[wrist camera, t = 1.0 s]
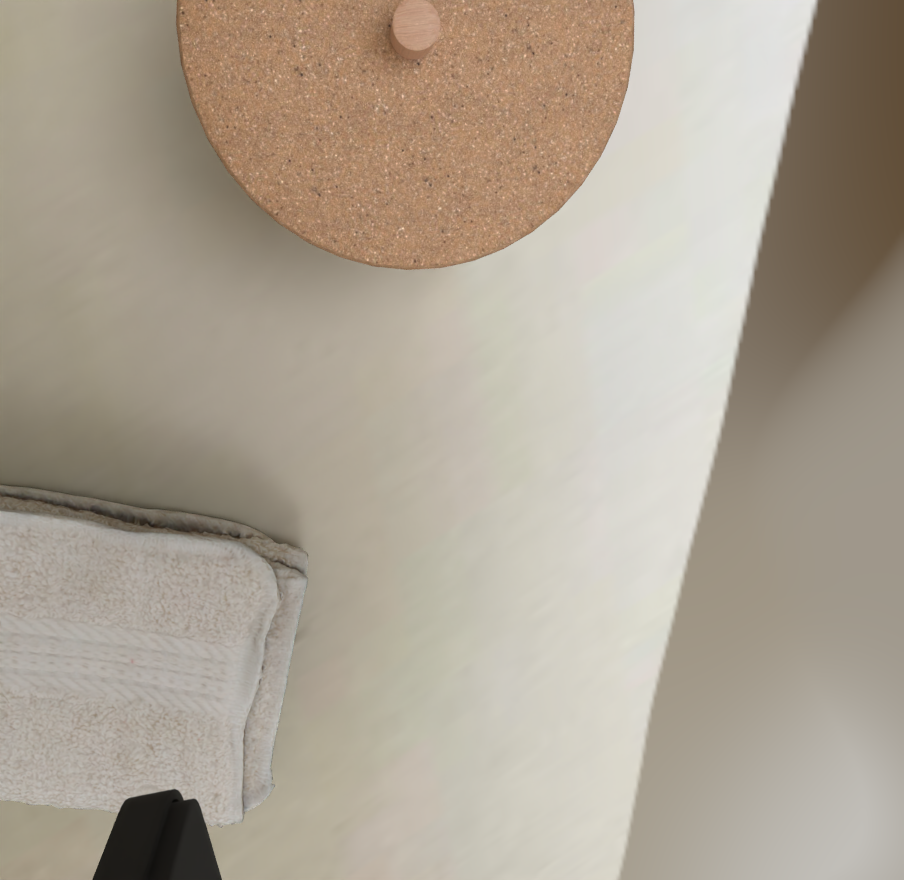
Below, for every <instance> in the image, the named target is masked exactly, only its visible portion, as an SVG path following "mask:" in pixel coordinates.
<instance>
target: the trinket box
mask: <svg viewBox="0 0 904 880" xmlns="http://www.w3.org/2000/svg"><path fill="white" fill-rule="evenodd" d="M176 26H177V34H178V42H179V50H180V58H181V65H182V69H183V73H184V76H185V80H186V83H187V87H188V91H189V94H190V98H191V101H192V104H193V107H194V109H195V111H196V114H197V116H198V118H199V120H200V123H201V125H202V127H203V129H204V132H205V134H206V136H207V139H208V140H209V142H210V144H211V145H212V147H213V148H214V150H215V152H216V153H217V155H218V156H219V158H220V160H221V161H222V163H223V164H224V166H225V168H226V169H227V171H228V172H229V173H230V175H231V176H232V177H233V178H234V179H235V180H236V182H237V183H238V184H239V185H240V186H241V188H242V189H243V190H244V191H245V192H246V193H247V195H248V196H249V197H250V198H251V199H252V200H253V201H254V202H255V203H256V204H257V205H258V206H259V207H261V208H262V209H263V210H264V211H265V212H266V213H267V214H268V215H270V216H271V217H272V218H273V219H274V220H275V221H276V222H278V223H279V224H280V225H282V226H283V227H285V228H286V229H288V230H289V231H291V232H292V233H294V234H296V235H297V236H299V237H300V238H302V239H303V240H305V241H306V242H308V243H310V244H312V245H314V246H316V247H319V248H321V249H323V250H325V251H328V252H330V253H332V254H334V255H337V256H339V257H341V258H345V259H349V260H352V261H356V262H360V263H363V264H367V265H371V266H376V267H385V268H395V269H404V270H412V269H431V268H442V267H447V266H452V265H456V264H461V263H465V262H470V261H474V260H476V259H479V258H481V257H484V256H486V255H489V254H492V253H494V252H497V251H499V250H502V249H504V248H506V247H507V246H509V245H511V244H513V243H514V242H516V241H518V240H519V239H521V238H523V237H524V236H526V235H528V234H530V233H531V232H533V231H534V230H535V229H536V228H538V227H539V226H540V225H541V224H543V223H544V222H545V221H546V220H547V219H549V218H550V217H551V216H552V215H554V214H555V213H556V212H557V211H558V210H559V209H560V208H561V207H562V206H563V205H564V204H565V203H566V202H567V201H568V199H569V198H570V197H571V196H572V195H573V194H574V193H575V192H576V191H577V189H578V188H579V187H580V186H581V185H582V184H583V182H584V181H585V179H586V178H587V176H588V175H589V173H590V172H591V170H592V169H593V167H594V166H595V164H596V163H597V161H598V160H599V158H600V157H601V155H602V153H603V151H604V149H605V146H606V144H607V142H608V140H609V138H610V136H611V134H612V132H613V129H614V127H615V125H616V123H617V120H618V117H619V114H620V110H621V107H622V104H623V101H624V98H625V94H626V91H627V88H628V82H629V76H630V69H631V63H632V57H633V51H634V5H633V0H177V14H176Z"/></svg>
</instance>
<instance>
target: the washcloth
mask: <svg viewBox="0 0 904 880" xmlns="http://www.w3.org/2000/svg"><path fill="white" fill-rule="evenodd" d="M307 567H308V554H307V552H305V551H304V550H303V549H301V548H299V547H292V546H290V545H289V544H287V543H284V544H277V543H275V542H274V541H273V540H272V539H271V538H269V537H267V536H266V535H265V534H264V533H261V532H259V531H258V530H256V529H254V528H251V527H248V526H245V525H243V524H238V523H235V522H233V521H228V520H224V519H220V518H212V517H207V516H202V515H195V514H190V513H185V512H177V511H167V510H161V509H142V508H138V507H134V506H128V505H123V504H118V503H114V502H109V501H104V500H99V499H95V498H89V497H84V496H73V495H69V494H65V493H60V492H52V491H46V490H41V489H35V488H27V487H10V486H5V485H0V801H1V800H4V801H10V800H12V801H17V802H24V803H26V804H28V805H40V804H44V805H47V806H49V805H53V806H55V807H57V808H59V809H61V808H66V807H67V808H74V809H99V810H104V811H109V812H116V813H119V811H120V808H121V806H122V804H123V803H124V801H125V800H126V799H128V798H130V797H135V796H141V795H146V794H151V793H156V792H161V791H166V790H171V789H176V790H179V792H180V793H181V795H182V797H183V799H184V800H188V799H193V798H194V799H196V800H197V801H198V802H199V805H200V807H201V810H202V814H203V817H204V821H205V823H208V824H209V825H210V826H213V825H217V826H219V827H220V828H221V827H222V826H223V825H227V824H235V823H242V821H243V819H244V814H245V812H246V811H249V810H251V809H253V808H254V807H256V806H257V805H259V804H260V803H262V802H263V801H264V800H265V799H266V798H267V797H268V796H269V794H270V793H271V791H272V789H273V788H274V787H275V785H274V784H272V780H273V777H272V770H271V762H272V756H273V749H274V743H275V737H276V732H277V729H278V723H279V718H280V714H281V709H282V703H283V699H284V695H285V689H286V685H287V678H288V671H289V667H290V661H291V656H292V652H293V646H294V640H295V637H296V631H297V626H298V621H299V616H300V612H301V608H302V605H303V598H304V593H305V590H306V587H307V583H308V577H307V576H306V575H307Z"/></svg>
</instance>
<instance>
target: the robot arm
mask: <svg viewBox="0 0 904 880" xmlns="http://www.w3.org/2000/svg"><path fill="white" fill-rule="evenodd" d="M93 880H222V879H221V875H220V872H219V868H218V865H217V861H216V858H215V855H214V851H213V848H212V844H211V841H210V838H209V834H208V831H207V827H206V824H205V821H204V817H203V814H202V810H201V807H200V805H199V802H198V801H197V800H196V799H194V798H193V799H188V800H184V799H183V797H182V795H181V793H180V792H179V790H176V789H171V790H166V791H161V792H156V793H151V794H146V795H141V796H135V797H130V798H128V799H126V800H125V801H124V803H123V804H122V806H121V808H120V811H119V813H118V816H117V818H116V821H115V824H114V826H113V829H112V831H111V834H110V836H109V839H108V841H107V844H106V846H105V849H104V852H103V854H102V857H101V859H100V862H99V864H98V867H97V869H96V872H95V874H94V877H93Z"/></svg>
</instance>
